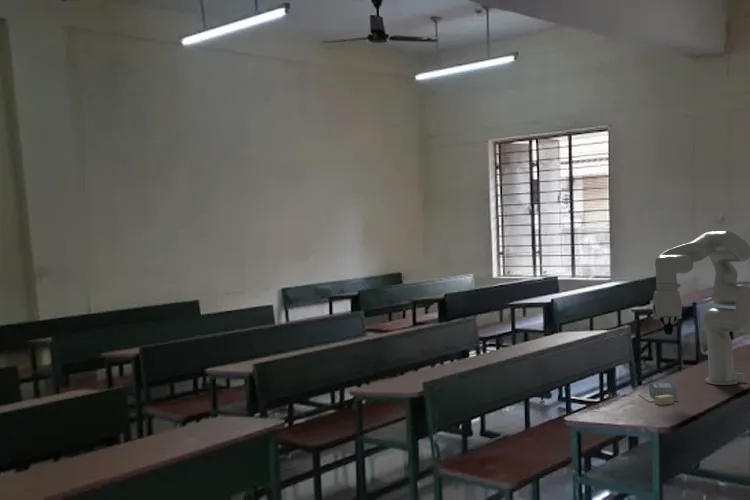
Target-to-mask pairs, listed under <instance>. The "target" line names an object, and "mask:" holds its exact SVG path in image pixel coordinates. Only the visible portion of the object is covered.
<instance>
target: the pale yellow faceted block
mask: <svg viewBox="0 0 750 500" xmlns="http://www.w3.org/2000/svg"><path fill="white" fill-rule="evenodd" d="M654 404H655V405H658V404H659V405H658V406H663V405H669V404H670V405H671V404H674V401H673V396H672V395H668V394H666V395H660V396H655V402H654Z"/></svg>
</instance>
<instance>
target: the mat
mask: <svg viewBox="0 0 750 500" xmlns="http://www.w3.org/2000/svg"><path fill="white" fill-rule="evenodd" d="M638 396H639V397H641V398H642V399H643V400H645V401H646V402H648V403H655V398H654V397H653V396H652V395H651V394H650V393H638ZM673 402H678V399H677V398H673Z"/></svg>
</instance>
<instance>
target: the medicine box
mask: <svg viewBox="0 0 750 500" xmlns="http://www.w3.org/2000/svg"><path fill="white" fill-rule="evenodd" d="M648 388H649V389H648V390H649V392H648V393H649V394H651V395H652V396H653V397H654V398H655V396H660V395H666V394H668V395H672V396H673V398H675V399H677V398H678V395H677V394H678V393H677V386H675V385H674V384H673V383H672V382H667V383H666V382H662V383H660V382H659V383H658V382H657V383H654V382H653V383H649V384H648Z"/></svg>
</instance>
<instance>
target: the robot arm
mask: <svg viewBox="0 0 750 500" xmlns="http://www.w3.org/2000/svg"><path fill="white" fill-rule="evenodd" d="M707 257H709V258H710V260H711V262H712V265H713V267H714V271H715V272H714V273H715V274H714V282H713V288H712V293H711V301H712V303H713V304H715V305H717V306H722V307H713V308H712V307H711V308H709V309H707V310H706V311H705V312H704V314H703V324H704V327H705V331H706V341H707V359H708V360H707V361H708V362H707V363H708V364H707V365H708V367H707V368H708V376H707V377H706V378H704V381H705V383H707V384H709V385H716V386H733V385H736V384H737V385H738V383H739V378H746V377H747V375H746V372H737V371H734V353H733V339H732V338H731V335H730V333H729V332H732V333H733V332H735V333H743V332H745V331H747V329H748V327H749V325H750V286H749V285H747V284H744V283H738V282H737V281H738V271H737V269H736V267H734V265H733V264H732V262H733V263H734V262H736V263H737V262H740V263H742V262H746V261H748V260H749V259H750V244H749V243H748V242H747V241H746V240H745V239H743V238H742V237H741V236H739V235H737V234H736V233H735V232H732V231H730V230H715V231H710V230H709V231H706V232H704V233H702V234H701V235H699V236H697V237H696V238H695V239H693V240H691V241H690V242H687V243H684V244H681V245H678V246H675V247H672V248H669V249H666V250H665V251H663V252H661V253H660V254H659V255H658V256H657V257H655V260H654V261H655V263H654V266H655V282H656V283H655V285H656V287H655V288H656V290H655V291H654V292H653V295H652V296H653V298H652V314H653V319H654V320H656V321H660V323H662V325H663V332H664V334H665V335H668V336H669V335H673V331H674V328H673V327H674V326H673V325H674V323H675V322H676V321H677V320H681V319H682V318H683V316H682V314H683V308H682V307H683V306H682V299H681V294H680V291H679V290H678V288H681V284H680V283H678V282H677V278H678V277H677V275H679V274H680V275H681V274H684V275H685V274H688V273H690V272H691V271H692V270H693V268H694V263H696V262H700V261H702V260H704V259H705V258H707ZM727 307H735V308H727Z"/></svg>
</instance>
